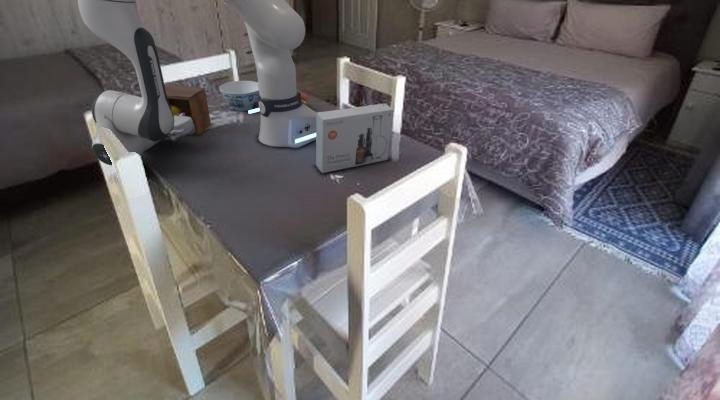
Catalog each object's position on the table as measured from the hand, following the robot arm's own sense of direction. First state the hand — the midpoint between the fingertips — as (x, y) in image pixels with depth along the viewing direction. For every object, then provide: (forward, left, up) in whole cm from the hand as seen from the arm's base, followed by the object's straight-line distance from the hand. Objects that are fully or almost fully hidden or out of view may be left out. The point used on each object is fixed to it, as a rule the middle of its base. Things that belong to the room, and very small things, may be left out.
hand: (171, 113), depth 121 cm
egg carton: (-43, +3, -7) cm, 43 cm away
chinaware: (-28, -8, -7) cm, 30 cm away
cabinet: (-4, -3, -6) cm, 8 cm away
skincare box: (-32, +50, -7) cm, 59 cm away
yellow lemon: (0, 0, -5) cm, 5 cm away
